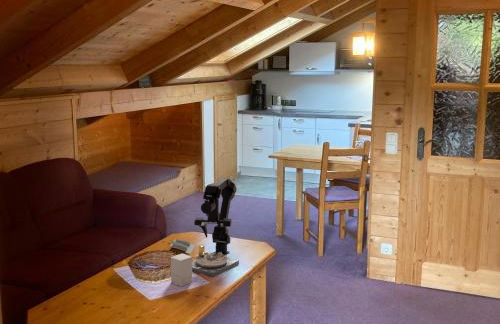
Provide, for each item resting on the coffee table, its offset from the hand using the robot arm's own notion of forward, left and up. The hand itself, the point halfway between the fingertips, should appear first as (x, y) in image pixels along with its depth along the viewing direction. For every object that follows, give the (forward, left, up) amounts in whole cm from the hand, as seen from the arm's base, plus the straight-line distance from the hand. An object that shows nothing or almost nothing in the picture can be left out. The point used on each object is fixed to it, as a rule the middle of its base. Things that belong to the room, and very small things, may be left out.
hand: (213, 237), depth 277 cm
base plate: (+6, +3, -13) cm, 14 cm away
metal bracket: (-5, -26, -14) cm, 30 cm away
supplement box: (+30, +5, -13) cm, 33 cm away
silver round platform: (+6, +3, -11) cm, 12 cm away
